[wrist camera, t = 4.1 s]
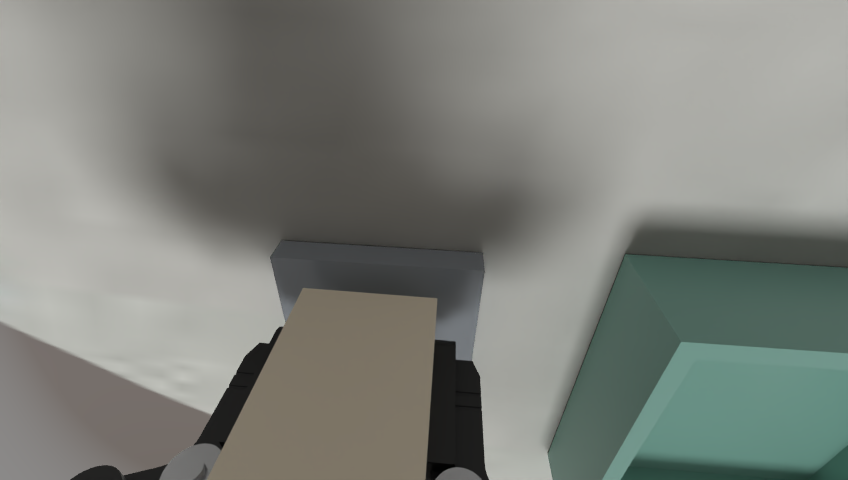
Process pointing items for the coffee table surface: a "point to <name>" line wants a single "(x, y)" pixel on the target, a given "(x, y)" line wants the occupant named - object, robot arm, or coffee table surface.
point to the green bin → (712, 375)
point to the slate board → (389, 280)
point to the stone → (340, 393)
